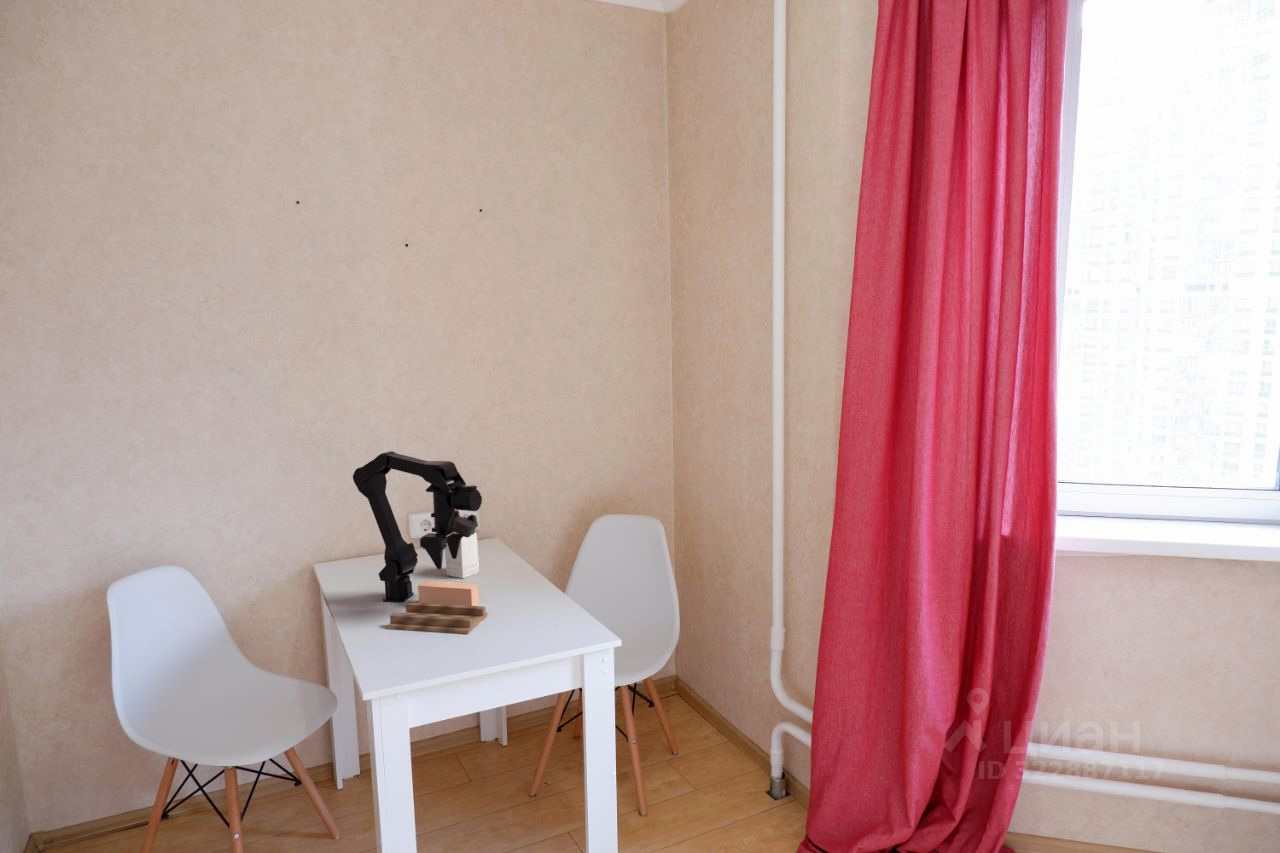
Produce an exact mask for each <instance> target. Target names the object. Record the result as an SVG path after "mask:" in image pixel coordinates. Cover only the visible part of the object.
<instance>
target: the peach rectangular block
mask: <svg viewBox="0 0 1280 853" xmlns="http://www.w3.org/2000/svg"><path fill="white" fill-rule="evenodd" d="M417 592H418V603H429V604H447V605H464V606H477V605H478V606H480V605H479V604H480V603H479V584H477V583H463V582H461V583H460V582H448V581H447V582H446V581H435V580H434V581H432V580H425V581H423V582H421V583H420V584H418V585H417Z"/></svg>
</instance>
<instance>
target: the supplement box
mask: <svg viewBox="0 0 1280 853" xmlns="http://www.w3.org/2000/svg"><path fill="white" fill-rule="evenodd" d="M478 544H479V543H478V533H476V532H474V534H473V535H471V536H470V537H463V538H462V539H461V542H460V546H459V550H458V554H457V558H456V559H453V558H452V556H451V554H450V550H449V547H448V546H447V547H446V548H445V549H444V552H445V553H444V554H445V568H446V569H445V570H446V576H448V575H449V577H454V578H458V579H465V578H469V577H470V576H473V575H475V574H479V573H480V567H479V566H480V565H479V563H480V560H479V548H478V547H479V546H478ZM446 545H448V544H446Z"/></svg>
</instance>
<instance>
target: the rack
mask: <svg viewBox="0 0 1280 853" xmlns="http://www.w3.org/2000/svg"><path fill="white" fill-rule="evenodd" d="M488 613H489V612H488V611H487V612H486V606H482V605H481V606H480V605H478V606H464V605H447V604H429V603H419V602H410V601H409V602H407V603H406V604H405V612H404V613H396V612H395V613H391V614H390V615H389V621H390V623H389V624H387V629H388V630H401V629H406V631H416V630H417V631H419V632H431V631H432V632H434V633H447V634H448V632H449V634H462V633H465V635H468V634H470V633H471V632H472V631H473V630H474V629H476V628H477V627H478V626H479V623H480V622H481V621H482V622H483V621H484V620H485V619H486V618H487V617H488V615H489V614H488ZM482 622H481V623H482ZM481 623H480V624H481ZM432 632H431V633H432Z"/></svg>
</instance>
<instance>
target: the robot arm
mask: <svg viewBox="0 0 1280 853" xmlns="http://www.w3.org/2000/svg"><path fill="white" fill-rule="evenodd" d="M392 470H394V471H399V472H403V473H407V474H411V475H415V476H418V477H421V478H422V479H423V480H424V481H425V482H427V483H429V484H430V485H429V486H428V487H427V488H426V489H425V492H426V493H432V499H433V500H432V501H433V502H432V503H433V512H431V513H430V518H433V521H434V522H433V523H434V524H433V525H434V526H433V527H432V528H431V532H428V533H426V534H425V535H423V536H422V537H421V538H420V539H419V547H420V548H422V549H423V550H424V551H426V552H427V555H428V556H429V557H430V559H431V560H432V563H433V564H434V566H435V567H436V569H437V570H441V569H442V567H443V560H444V558H443V556H444V551H445V548H446V547H447V546H448V547H449V550H450V554H451V556H452V558H453V559H456V558H457V554H458V550H459V546H460V542H461V539H462V538H463V537H470V536H471V535H473V534H474V533H476V532H475V531H476V529H477V528H478V527H479V525H478V523H479V522H478V520H477V515H475V514H470V515H468V516H467V517H466V516H464V517H463V516H461V515H460V511H465V512H466V511H467V512H477V511H479V510H480V508H481V506H482V502H483V499H482V498H483V496H482V495H481V492H480V491H479V490H478V489H477V485H473V484H472V485H467V483H466V481H465V480H464V478H463V477H462V476H461V473H460V472H459V471H458V469H457V467H456V464H455V463H454V462H453V461H450V460H425V459H421V458H417V457H412V456H408V455H405V454H401V453H397V452H395V451H391V450H390V451H385V452H382V453H380V454H379V455H377V456H376V457H375V458H374V459H372V460H370V461H369V462H367V463H366V464H365V465H363V466H361V467H357V468H356V469H355V470H354V472H353V474H352V480H353V482H354V484H355V486H356V488H357V490H358V492H359V493H360V494H361V495H363V496H364V497H365V498H366V499H367V500H368V503H369V505H370V506H369V507H370V509H371V512H372V514H373V516H374V519H375V522H376V524H377V527H378V529H379V532H380V535H381V538H382V541H383V543H384V545H385V549H384V556H383V557H384V563H385V565H384V567H383V568H382V569H381V570H380V572H378V577H379V580H380V581H381V582H384V592H385V594H384V595H385V597H383V598H382V601H383V602H393V603H394V602H395V603H396V602H397V603H404V602H406V600H408V599H410V598H411V597H412V596H414V595H415V592H413V584H412V583H413V582H412V580H411V576H410V575H412V574H414V571H415V567H416V566H417V564H418V561H419V560H418V556H419V555H418V553H417V552H416V550H415V544H414V543H413V542H410V543H408V542H407V541H405V540H404V538H403V537H402V534H401V530H400V528H399V525H398V523H397V520H396V517H395V515H394V512H393V510H392V506H391V504H390V502H389V499H388V496H387V493H386V490H387V489H386V488H387V483H388V482H387V481H388V480H387V474H388V473H389V472H391V471H392ZM446 544H448V545H446Z"/></svg>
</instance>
